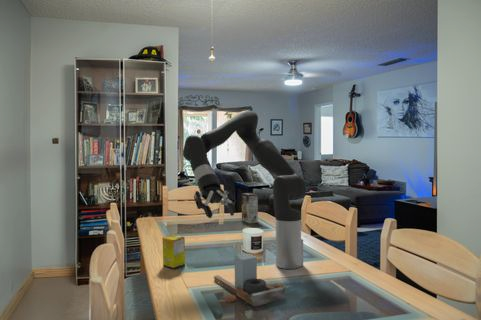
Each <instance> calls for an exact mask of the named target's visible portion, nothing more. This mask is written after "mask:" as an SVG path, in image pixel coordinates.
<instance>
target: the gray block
mask: <svg viewBox="0 0 481 320" xmlns="http://www.w3.org/2000/svg"><path fill="white" fill-rule="evenodd" d="M257 261H258V260H257V256H256V255H252V254H250V253H243V254H238V255H237V254H235V255H234V285H235V286H236V287H238V288H240V289H241V290H243V291H244V282H245V281H246V280H248V279H253V278H255V279H258V270H257V269H258V267H257V266H258V265H257V263H258V262H257Z"/></svg>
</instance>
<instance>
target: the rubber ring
mask: <svg viewBox="0 0 481 320" xmlns="http://www.w3.org/2000/svg"><path fill="white" fill-rule="evenodd" d="M266 282H267V281H265V279H262V278H257V279H255V278H253V279H248V280H246V281H245V282H244V291H245V292H246V293H248V294H249V295H251V294H254V293H258V292H262V291H266V284H267V283H266Z"/></svg>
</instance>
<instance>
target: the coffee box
mask: <svg viewBox="0 0 481 320" xmlns="http://www.w3.org/2000/svg"><path fill="white" fill-rule="evenodd" d="M258 197H259V194H256V193H253V192H244V193H241V221H242V222H244V223H246V224H255V223H256V224H257V223H259V217H258V216H259V215H258V214H259V213H258V211H259V210H258V209H259V204H258V203H259V202H258V201H259V199H258Z"/></svg>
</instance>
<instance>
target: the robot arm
mask: <svg viewBox="0 0 481 320" xmlns="http://www.w3.org/2000/svg"><path fill="white" fill-rule="evenodd" d="M258 122H259V116H258V114H257V112H255V111H252V110H242V111H240V112H238V113H236V114H235V115H234V116H233V117H231V118H230V119H227V121H226V122H224V123H223V124H221V125H219V126H218V127H215V128H214V129H211V130H209V131H207V132H204V133H203V134H202V135H201V136H199V135H196V134H191V135H188V136H187V137H186V139H185V140H184V141H185V142H184V146H183V150H182V156H183V158H184V159H185V160H187V161H188V162H189V163H190V164H189V165H190V167H191V171H192V173H193V175H194V176H193V177H194V179H195V182H196V184H197V187H198V189H199V190H196V191H195V192H194V195H193V198H194V202H195V205H196V207H197V210H201V209H202V210H203V211H204V213H205V216H206V217H207V218H209V219H212V217H213V211H212V208H211V207H210V205H209V204H211V205H212V204H219V203H220V204H221V205H224V206H225V207H226V208H227V210H228V212H229V214H230V216H234V215H235V212H236V209H235V207H234V205H235V204H236V202H237V199H236V198H235V195H234V194H233V192H232V190H231V189H230V188H227V190H223V189H222V187H221V183H220V181H219V178H218V177H217V174H216V173H215V170H214V169H213V167H212V165H211V163H210V161H209V158H208V153H209V152H210V151H211V150H213V149H215V148H217V147H220V146H222V145H223V144H225V142H226V141H228V139H230V138H231V137H232V135H233V134H234V133H235V132H236V135H237V136H238V137H239V138H240V139H241V140H242V141H243V143H244V144H245V145H246V146H247V147H248V149H249V150H250V153H252V154H253V156H254V159H255V160H256V162H258V164H259V165H260V166H261V167H262V168H263V169H265V170H267V171H268V172H270V173H272V174H273V175H276V177H275V178H274V180H273V184H272V186H273V187H272V195H273V196H272V197H273V210H274V215H275V266H276V267H277V268H280V269H283V270H285V269H286V270H296V269H299V268H300V267H302V266H304V239H302V213H301V211H299V210H298V209H295V208H292V207H291V206H290V202H291V201H297V200H302V199H303V198H304V197H305V196H306V194H307V186H306V182H305V179H304V178H303V177H302V176H301V175H300V174H299V173H298V172H297V171H296V170H295V168H293V166H291V164H290V163H289V162H288V161H287V160H286V159H285V157H284V156H283V155H282V154H281V153H280V151H279V150H278V148H277V147H276V146H275V144H274V143H273V142H272V141H271V140H269V139H265V138H260V137H259V136H258V133H257V128H258ZM202 199H204V200H205V202H204V203H203V200H202Z"/></svg>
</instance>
